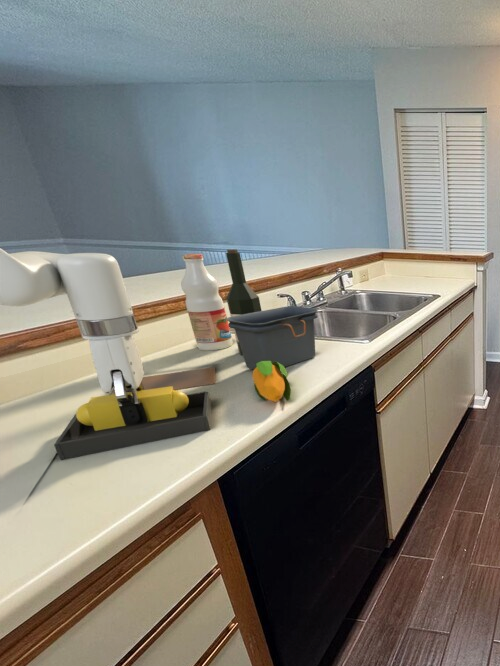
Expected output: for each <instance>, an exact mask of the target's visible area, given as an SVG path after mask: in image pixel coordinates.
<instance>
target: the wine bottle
mask: <svg viewBox="0 0 500 666" xmlns="http://www.w3.org/2000/svg"><path fill="white" fill-rule="evenodd" d="M225 255H226V259H227V264H228V269H229V274H230V277H231V282H232V284H231V286H230V289H229V291H228V293H227V296H226V297H225V299H226V304H227V307H228V311H229V315H230V316H229V317H232V316H238V315H243V314H248V313H253V312H259V311H263V310H262V306H261V300H260V297H259V295H258V294H257V293H256V292H255V291H254V289H252V287H251V286H250V285H249V284H248V283H247V281H246V280H247V279H246V275H245V271H244V267H243V262H242V257H241V252H239V251H238V249H237V248H235V249H234V248H233V249H231V248H229V249H227V250H226V252H225ZM233 333H234V336H235V341H236V345H237V348H238V353H239V354H240V356H241V357H243V353H242V350H241V347H240V344H239V341H238V338H237V335H236V332H235V329H233Z"/></svg>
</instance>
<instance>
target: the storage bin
mask: <svg viewBox="0 0 500 666" xmlns="http://www.w3.org/2000/svg"><path fill="white" fill-rule="evenodd" d="M318 311H319V309H317V308H312V307H306V306H298V305H287V306H281V307H276V308H275V307H274V308H271V309H265V310H262V311H259V312H253V313H248V314H243V315H238V316H232V317H231V316H229V317H228V316H227V318H226V320H227V321H228V324H229V328H230V329H233V330H234V329H235V332H236V335H237V338H238V341H239V344H240V347H241V350H242V353H243V356H242V357H243V360H244V362H245V366H246V368H247V369H249V370H253V371H254V369H255V368H256V367H257V365H256V364H257V363H259V362H261V361H271V363H273V362H278V363H280V364H281V365H283V366H284V368H286V367H289V366H292V365H295V364H298V363H301V362H303V361H306V360H310V359H312V358H314V357H316V335H315V334H316V333H315V319H318V314H317V312H318ZM235 332H234V333H235Z"/></svg>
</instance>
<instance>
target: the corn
mask: <svg viewBox="0 0 500 666" xmlns="http://www.w3.org/2000/svg"><path fill="white" fill-rule="evenodd" d="M256 365H257V367H256V368H255V369H254V370H253V371H252V380H253V385H254V391H255V392H256V394H257V396H258V397H259V398H260V399H262V400H263V401H267V400H268V401H269V402H275V403H277V402H278V401H279V400H281V399H282V398H284V400H285V401H290V399H291V395H292V394H291V393H292V388H291V385H290V382H289V380H288V376H289V375H288V371H287V370H286V367H284V366H283V365H281V364H280V363H278V362H273V363H271V361H261V362H259V363H257V364H256Z"/></svg>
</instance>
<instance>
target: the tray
mask: <svg viewBox="0 0 500 666" xmlns="http://www.w3.org/2000/svg"><path fill="white" fill-rule="evenodd" d="M186 395H187V397H188V399H189V403H188V406H187V407H186V408H185V409H184V410H182V411H180V412H178V415H177V417H173V418H168V419H162V420H156V421H150V422H146V423H142V424H136V425H130V426H121V427H115V428H109V429H103V430H97V431H95V429H94V427H93V426H87V425H84V424H82V423H81V422H79V421H78V419H77V417H76V413H75V414H74V415H73V416H72V419H70V421H69V422H68V424H67V425H66V427H65V428H64V430H63V431H62V432H61V434H60V436H59V437H58V438H57V440H56V441H55V442H54V444H53V446H54V449H55V451H56V453H57V455H58V457H59V459H60V461H64V460H65V461H66V460H69V459H76V458H79V457H84V456H90V455H95V454H100V453H104V452H110V451H113V450H119V449H124V448H130V447H134V446H139V445H144V444H148V443H153V442H158V441H163V440H167V439H174V438H178V437H182V436H187V435H192V434H197V433H202V432H208V431H211V425H212V400H211V397H210V393H209V391H208V390H207V391H206V390H205V391H200V392H195V393H188V394H186Z"/></svg>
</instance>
